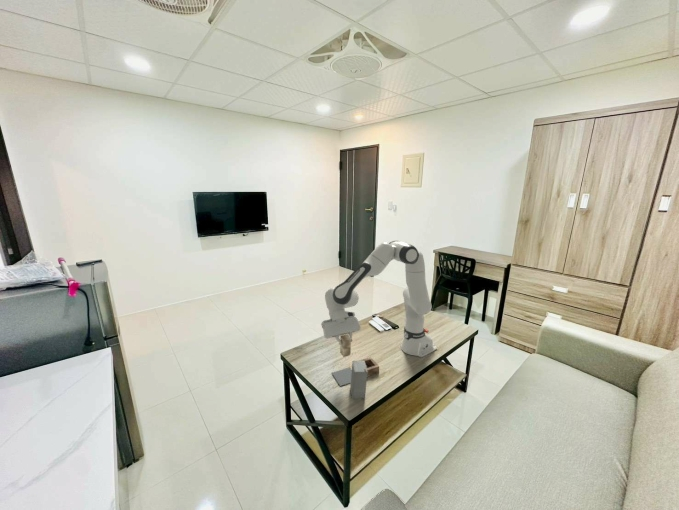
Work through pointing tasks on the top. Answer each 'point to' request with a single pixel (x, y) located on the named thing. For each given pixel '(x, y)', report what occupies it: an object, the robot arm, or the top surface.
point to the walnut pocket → (373, 364)
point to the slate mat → (343, 376)
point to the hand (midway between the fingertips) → (346, 343)
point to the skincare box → (358, 379)
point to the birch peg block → (345, 345)
